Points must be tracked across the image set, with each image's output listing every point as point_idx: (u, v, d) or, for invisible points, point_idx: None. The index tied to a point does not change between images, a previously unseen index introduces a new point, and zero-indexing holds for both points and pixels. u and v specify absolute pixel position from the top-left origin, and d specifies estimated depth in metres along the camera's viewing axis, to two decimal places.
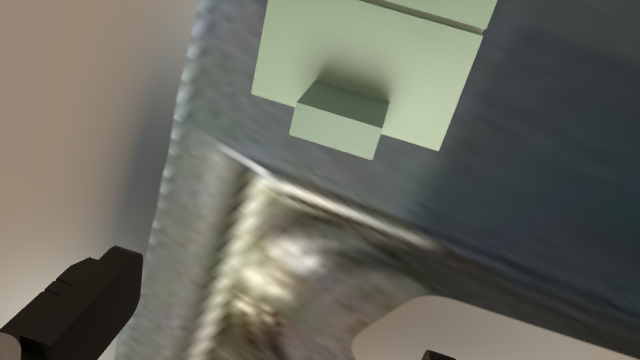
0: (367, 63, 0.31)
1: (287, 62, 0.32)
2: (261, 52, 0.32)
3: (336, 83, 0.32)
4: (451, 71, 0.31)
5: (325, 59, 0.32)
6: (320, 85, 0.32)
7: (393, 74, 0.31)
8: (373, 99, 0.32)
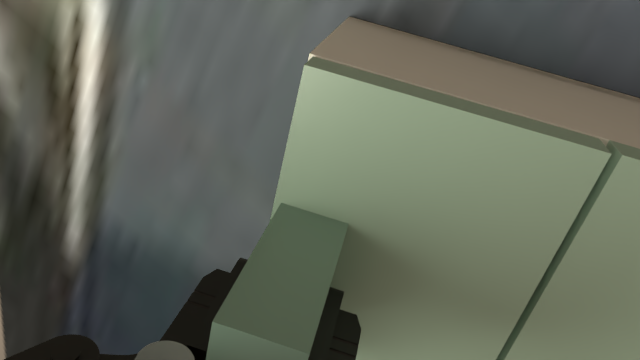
0: (386, 322, 0.15)
1: (389, 167, 0.13)
2: (416, 104, 0.12)
3: (342, 264, 0.15)
4: None
5: (395, 248, 0.14)
6: None
7: (364, 359, 0.16)
8: None
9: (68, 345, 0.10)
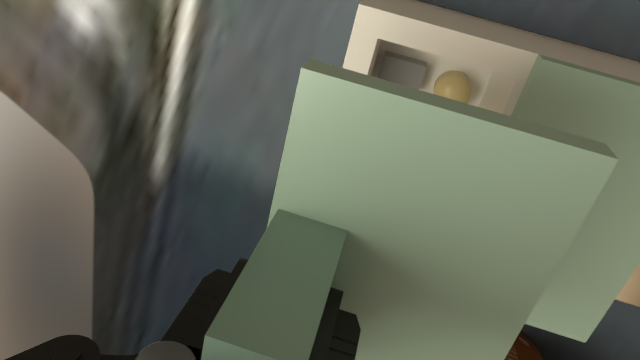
0: (386, 330, 0.15)
1: (389, 172, 0.13)
2: (416, 109, 0.12)
3: (341, 271, 0.14)
4: None
5: (395, 256, 0.14)
6: None
7: None
8: None
9: (68, 346, 0.10)
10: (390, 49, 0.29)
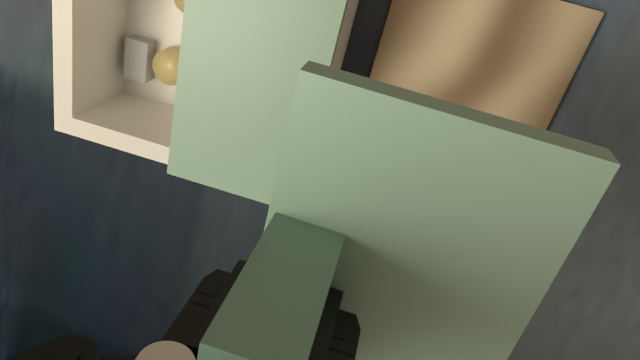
0: (384, 335, 0.15)
1: (388, 176, 0.13)
2: (416, 112, 0.12)
3: (339, 276, 0.14)
4: None
5: (394, 260, 0.14)
6: None
7: None
8: None
9: (68, 346, 0.10)
10: None
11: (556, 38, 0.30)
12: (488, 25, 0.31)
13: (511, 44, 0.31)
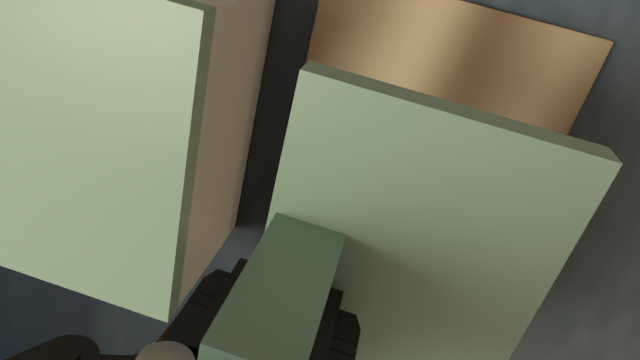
0: (385, 335, 0.15)
1: (388, 176, 0.13)
2: (417, 111, 0.12)
3: (340, 276, 0.14)
4: None
5: (395, 260, 0.14)
6: None
7: None
8: None
9: (68, 346, 0.10)
10: None
11: (545, 78, 0.21)
12: (447, 59, 0.22)
13: (481, 86, 0.22)
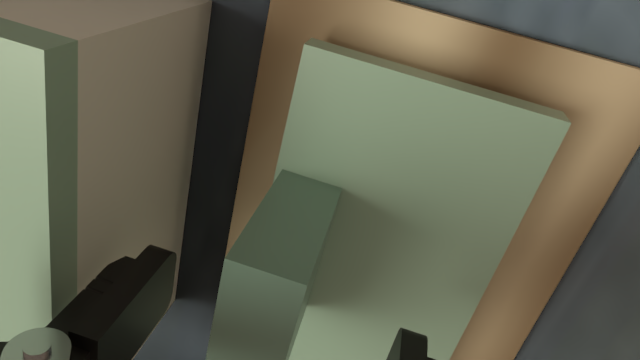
0: (375, 279, 0.17)
1: (378, 136, 0.15)
2: (402, 79, 0.14)
3: (336, 225, 0.16)
4: None
5: (384, 210, 0.16)
6: (333, 214, 0.15)
7: (356, 315, 0.18)
8: (311, 291, 0.17)
9: None
10: None
11: (579, 127, 0.15)
12: None
13: None
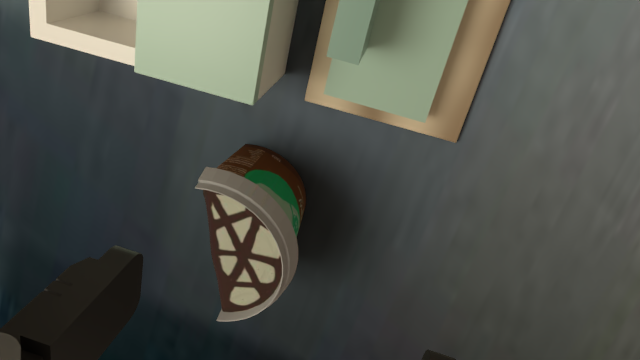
0: (404, 25, 0.33)
1: None
2: None
3: None
4: (396, 100, 0.36)
5: None
6: None
7: (393, 50, 0.34)
8: (370, 34, 0.34)
9: None
10: None
11: None
12: None
13: None
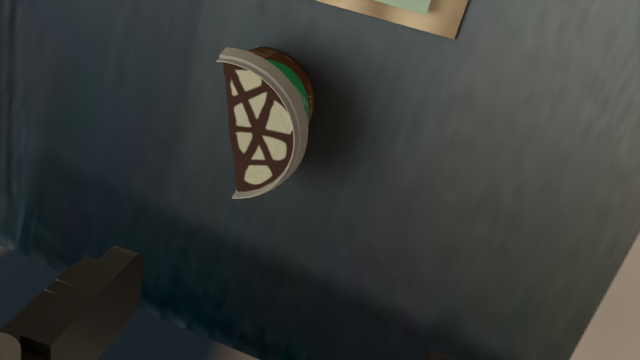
0: None
1: None
2: None
3: None
4: None
5: None
6: None
7: None
8: None
9: None
10: None
11: None
12: None
13: None
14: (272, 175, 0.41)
